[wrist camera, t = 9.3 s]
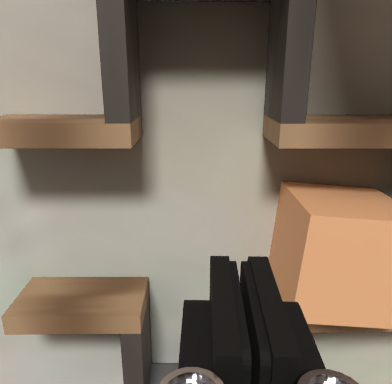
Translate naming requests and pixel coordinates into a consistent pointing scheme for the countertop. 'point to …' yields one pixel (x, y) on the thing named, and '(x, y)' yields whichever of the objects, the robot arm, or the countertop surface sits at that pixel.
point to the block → (334, 253)
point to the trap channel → (128, 136)
